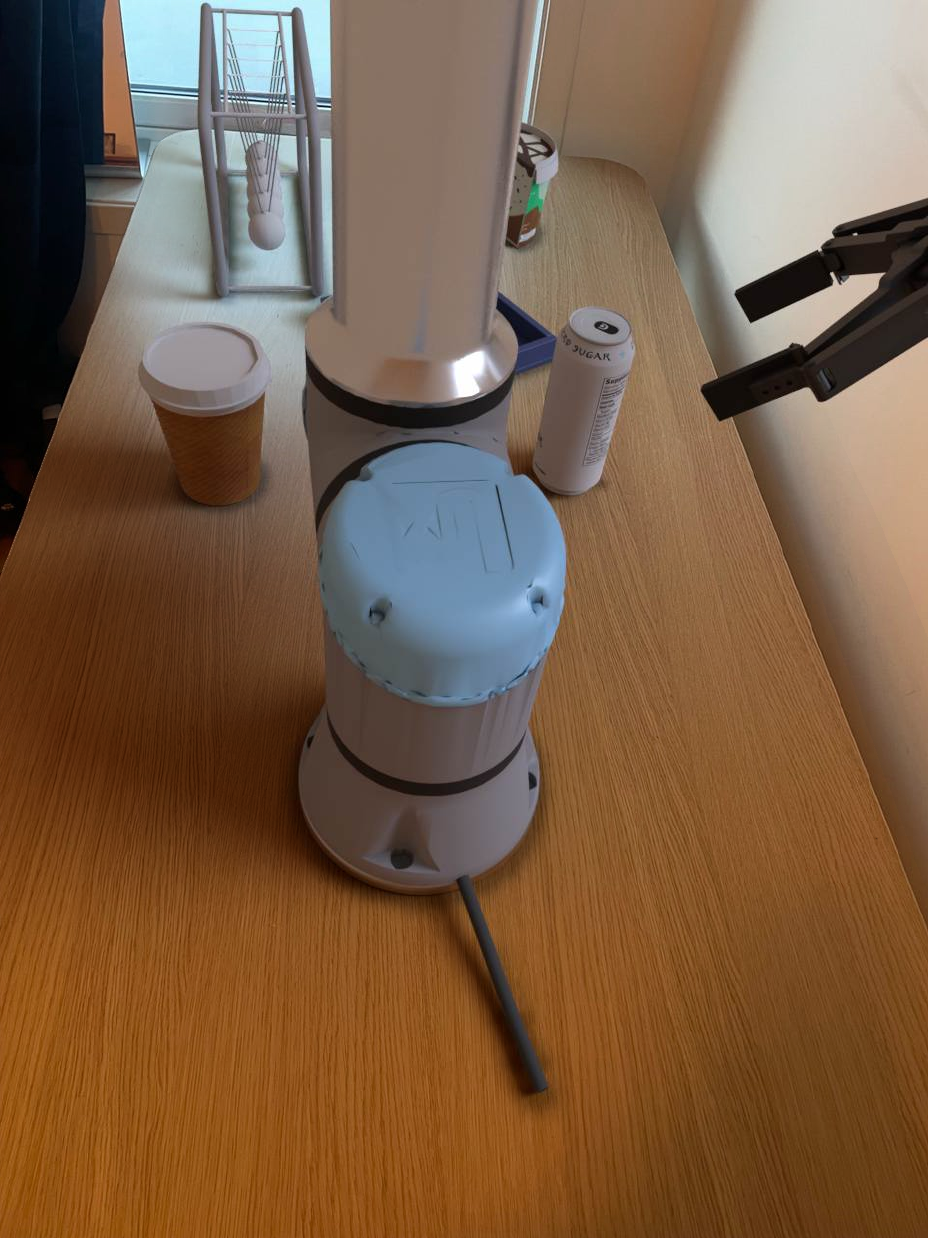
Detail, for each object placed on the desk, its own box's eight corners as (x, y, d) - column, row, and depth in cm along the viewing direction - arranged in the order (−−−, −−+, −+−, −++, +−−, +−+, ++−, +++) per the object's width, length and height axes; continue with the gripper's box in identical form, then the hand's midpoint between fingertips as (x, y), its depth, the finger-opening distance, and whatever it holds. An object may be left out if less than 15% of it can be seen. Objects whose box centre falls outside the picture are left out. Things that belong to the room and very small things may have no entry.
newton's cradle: (324, 305, 95) (320, 121, 81) (218, 306, 93) (196, 118, 79) (306, 168, 114) (301, 0, 100) (218, 166, 112) (200, -5, 98)
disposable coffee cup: (256, 530, 74) (243, 406, 65) (140, 505, 74) (111, 378, 65) (294, 455, 80) (288, 332, 71) (187, 433, 80) (167, 307, 71)
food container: (567, 243, 108) (584, 154, 100) (525, 254, 105) (539, 164, 98) (505, 195, 114) (516, 108, 106) (464, 205, 111) (472, 117, 104)
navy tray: (553, 360, 93) (558, 337, 91) (415, 412, 85) (417, 388, 83) (454, 280, 100) (457, 257, 98) (320, 321, 93) (320, 297, 91)
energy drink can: (551, 444, 84) (584, 293, 73) (611, 472, 82) (653, 322, 71) (517, 479, 81) (546, 325, 69) (578, 509, 79) (618, 357, 67)
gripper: (1096, 367, 48) (722, 495, 62) (1068, 174, 64) (775, 310, 78) (1049, 241, 45) (665, 406, 59) (1032, 71, 61) (732, 232, 74)
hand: (727, 352), depth 68 cm, fingers open, 13 cm apart
